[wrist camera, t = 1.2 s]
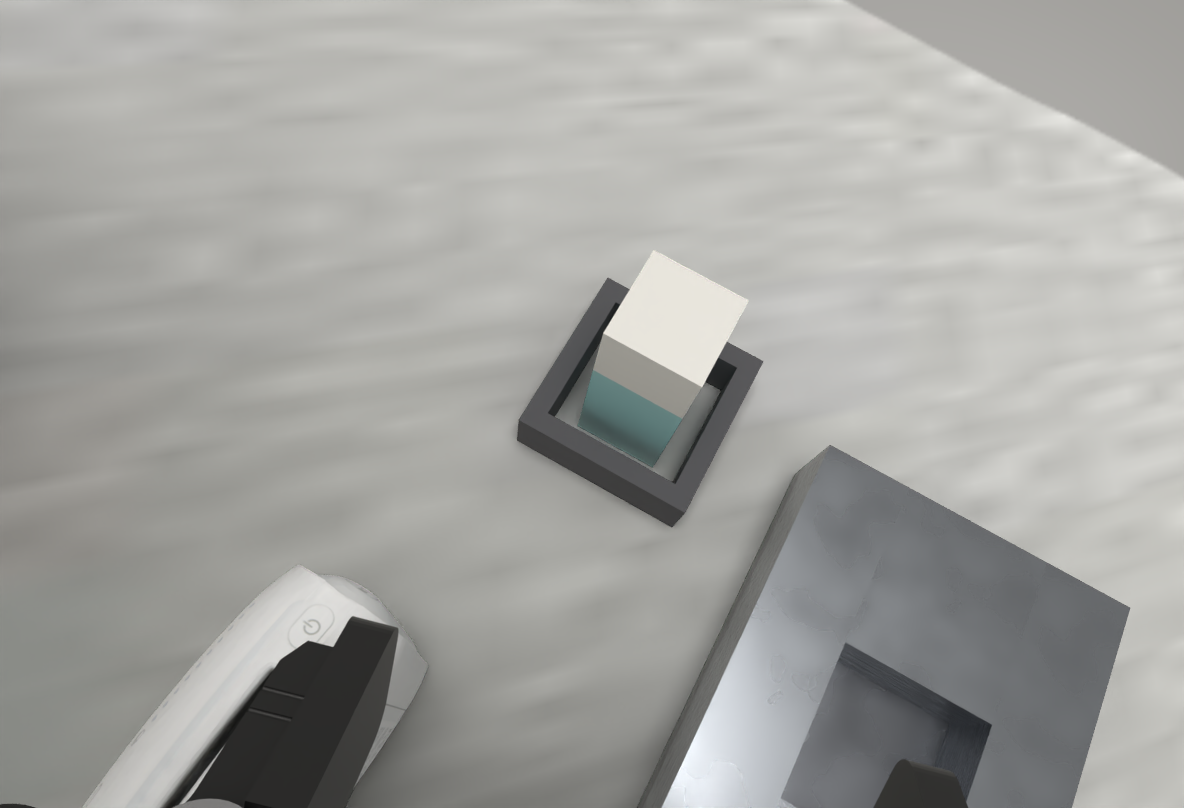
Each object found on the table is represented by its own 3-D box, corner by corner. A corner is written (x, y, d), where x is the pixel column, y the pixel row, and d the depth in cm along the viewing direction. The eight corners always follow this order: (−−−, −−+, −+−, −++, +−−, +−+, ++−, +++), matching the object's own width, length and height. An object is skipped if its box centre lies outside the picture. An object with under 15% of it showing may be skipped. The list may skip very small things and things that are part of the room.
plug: (577, 425, 35) (602, 333, 27) (617, 358, 37) (653, 249, 28) (652, 467, 35) (701, 387, 27) (690, 398, 36) (749, 300, 28)
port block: (585, 916, 29) (598, 944, 26) (795, 473, 36) (829, 444, 32) (903, 1110, 28) (965, 1168, 25) (1062, 620, 35) (1130, 607, 31)
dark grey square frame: (517, 440, 35) (518, 420, 33) (600, 305, 37) (607, 277, 35) (672, 527, 34) (685, 512, 32) (746, 384, 37) (763, 361, 35)
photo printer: (354, 591, 32) (276, 518, 21) (448, 657, 32) (421, 620, 20) (157, 852, 29) (-69, 938, 17) (260, 930, 28) (98, 1073, 17)
